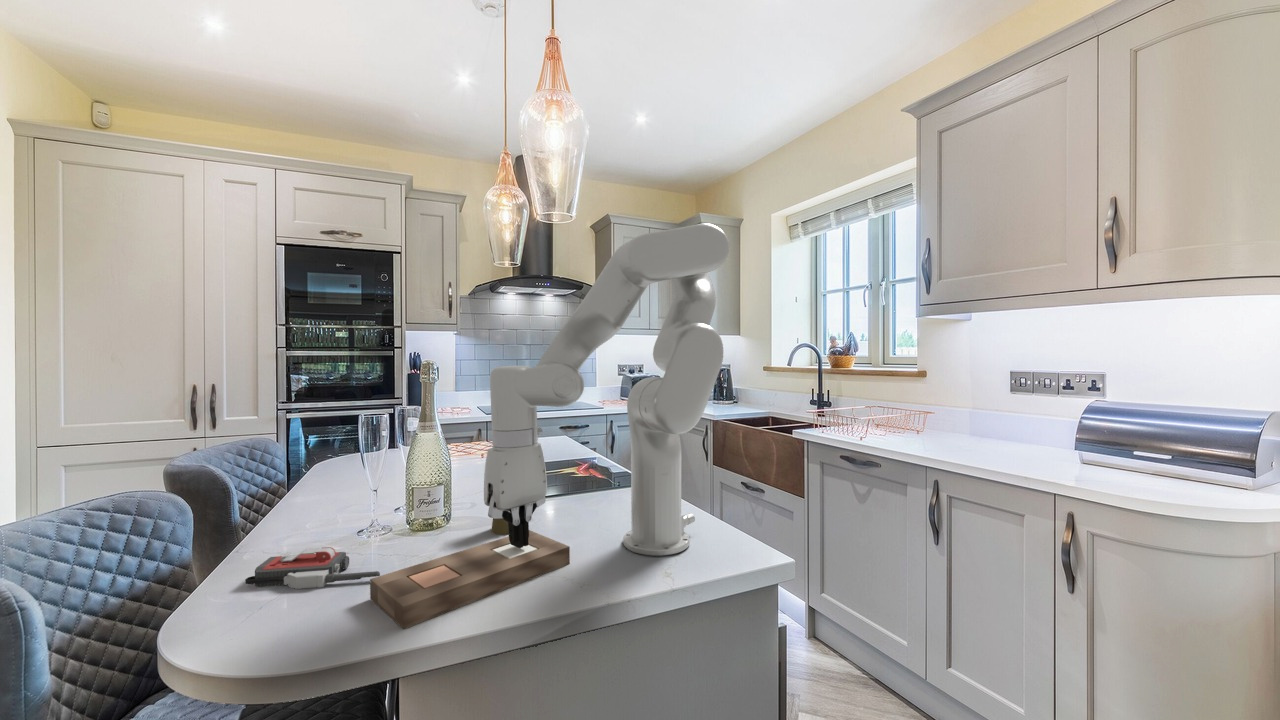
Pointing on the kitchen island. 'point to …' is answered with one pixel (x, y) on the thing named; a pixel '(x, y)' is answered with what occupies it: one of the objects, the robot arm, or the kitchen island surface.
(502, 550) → the off-white key
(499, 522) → the cork
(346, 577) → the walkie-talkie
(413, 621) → the block
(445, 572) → the terracotta key
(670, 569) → the kitchen island surface
